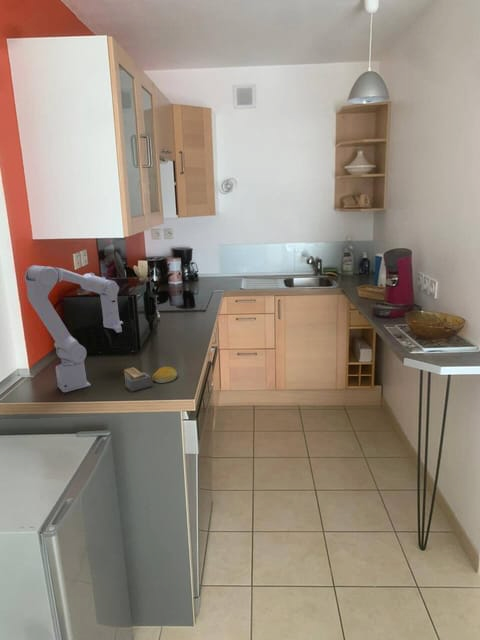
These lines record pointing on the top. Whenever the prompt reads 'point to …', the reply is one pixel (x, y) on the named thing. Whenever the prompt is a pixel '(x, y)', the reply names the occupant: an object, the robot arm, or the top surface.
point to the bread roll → (164, 375)
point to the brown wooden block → (133, 373)
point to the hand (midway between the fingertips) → (114, 346)
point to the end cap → (138, 382)
